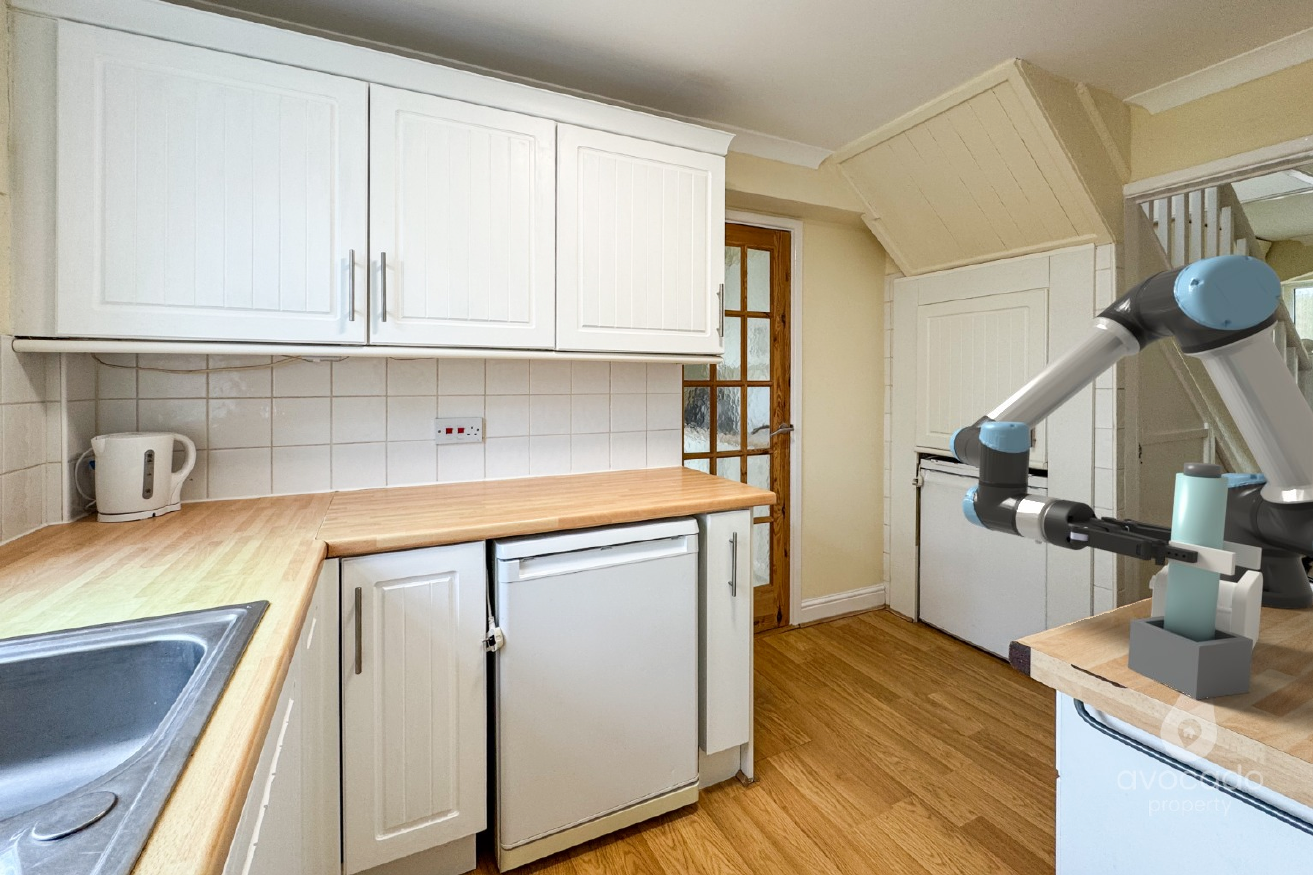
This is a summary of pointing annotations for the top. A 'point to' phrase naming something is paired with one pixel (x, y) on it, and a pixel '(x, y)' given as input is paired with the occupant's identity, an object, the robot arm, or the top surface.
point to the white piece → (1223, 602)
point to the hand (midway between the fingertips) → (1246, 561)
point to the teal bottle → (1203, 526)
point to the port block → (1191, 659)
